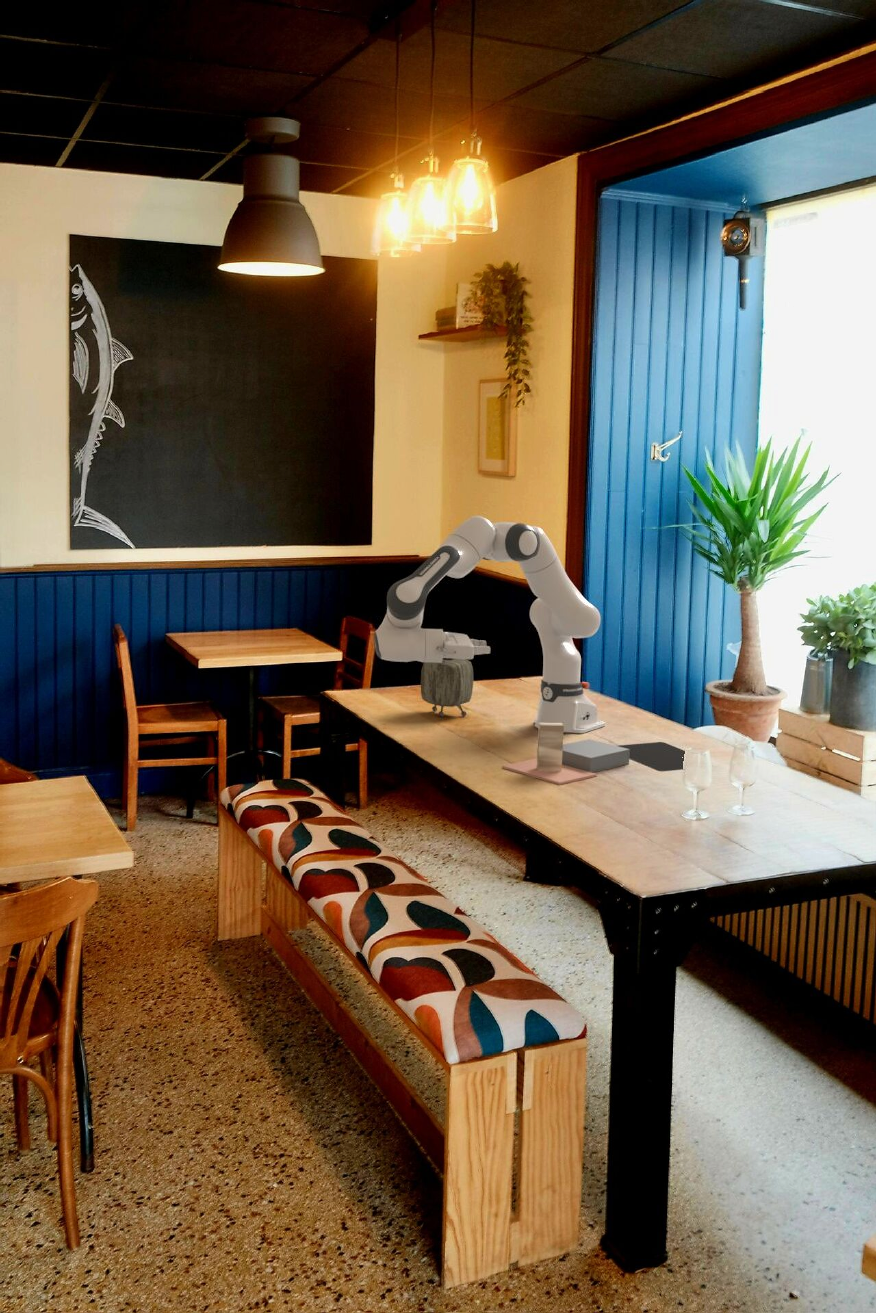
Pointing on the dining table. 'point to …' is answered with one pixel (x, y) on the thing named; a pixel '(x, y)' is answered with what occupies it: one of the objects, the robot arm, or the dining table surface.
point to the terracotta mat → (549, 772)
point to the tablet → (657, 755)
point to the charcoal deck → (594, 755)
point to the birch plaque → (550, 746)
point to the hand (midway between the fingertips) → (488, 647)
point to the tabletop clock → (447, 683)
